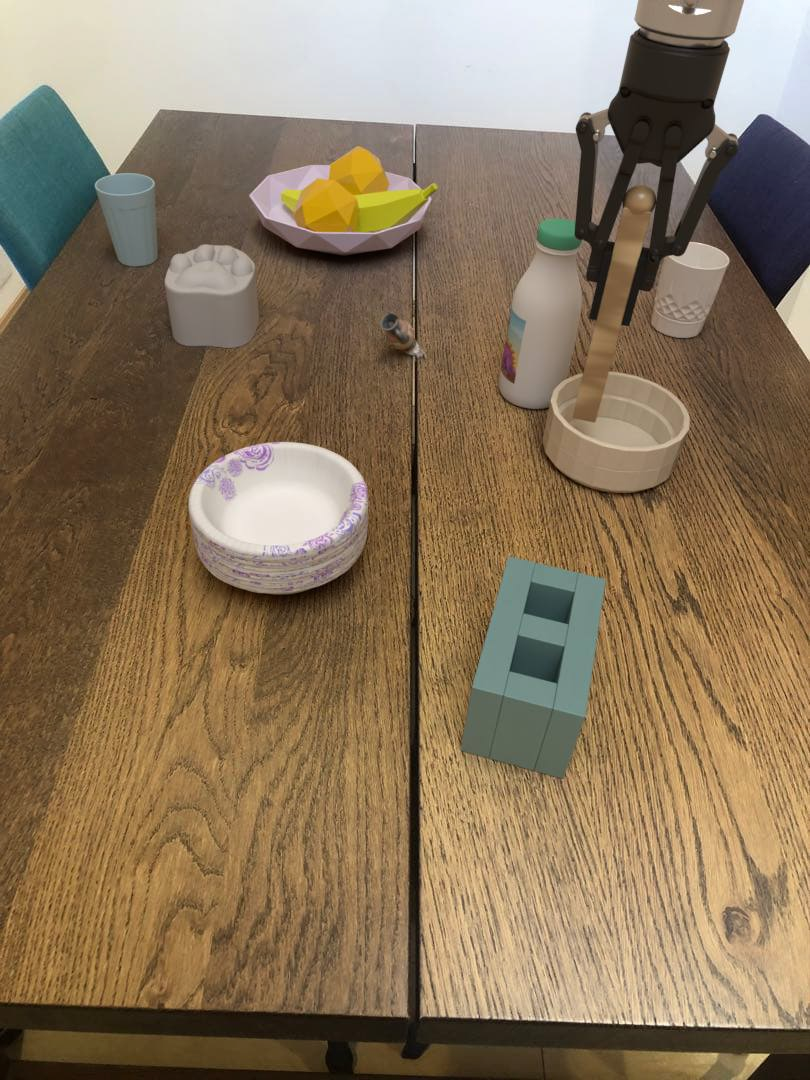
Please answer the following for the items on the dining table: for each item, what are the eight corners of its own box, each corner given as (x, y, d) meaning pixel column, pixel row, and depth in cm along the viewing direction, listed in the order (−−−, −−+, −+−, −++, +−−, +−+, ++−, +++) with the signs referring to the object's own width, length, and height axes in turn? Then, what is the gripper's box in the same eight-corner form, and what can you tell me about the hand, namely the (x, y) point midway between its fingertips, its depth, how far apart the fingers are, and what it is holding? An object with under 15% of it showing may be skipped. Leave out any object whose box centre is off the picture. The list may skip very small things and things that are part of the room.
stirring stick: (599, 410, 87) (660, 182, 70) (596, 424, 85) (659, 193, 68) (573, 404, 87) (628, 177, 71) (570, 419, 85) (625, 188, 69)
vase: (390, 372, 98) (392, 328, 94) (367, 351, 101) (368, 307, 97) (427, 361, 100) (431, 317, 96) (403, 341, 104) (406, 297, 99)
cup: (147, 274, 113) (134, 198, 105) (99, 264, 114) (82, 188, 107) (175, 252, 118) (165, 178, 111) (129, 243, 119) (115, 169, 112)
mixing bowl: (676, 431, 92) (691, 386, 88) (670, 510, 82) (687, 463, 78) (552, 406, 95) (561, 361, 91) (531, 479, 85) (541, 432, 81)
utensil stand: (585, 643, 69) (606, 578, 64) (563, 779, 60) (585, 717, 54) (495, 621, 71) (508, 555, 65) (460, 750, 61) (471, 687, 56)
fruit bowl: (219, 227, 125) (211, 149, 117) (357, 189, 139) (357, 117, 131) (332, 298, 111) (331, 215, 103) (473, 248, 124) (482, 171, 117)
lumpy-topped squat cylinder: (166, 344, 100) (154, 278, 94) (187, 294, 109) (178, 230, 103) (251, 349, 100) (245, 283, 94) (265, 298, 110) (261, 235, 104)
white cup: (634, 322, 110) (653, 250, 103) (669, 306, 114) (690, 236, 107) (681, 347, 106) (705, 274, 99) (716, 329, 110) (742, 258, 103)
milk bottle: (570, 385, 98) (608, 220, 84) (551, 418, 93) (588, 248, 79) (510, 368, 100) (537, 204, 86) (488, 399, 95) (513, 230, 81)
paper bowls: (250, 485, 82) (244, 420, 76) (391, 529, 78) (395, 464, 73) (164, 587, 71) (150, 520, 66) (322, 643, 68) (321, 577, 62)
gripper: (574, 31, 61) (524, 319, 77) (790, 59, 58) (691, 350, 74) (586, 11, 66) (537, 284, 82) (784, 36, 63) (693, 313, 80)
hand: (610, 315), depth 78 cm, fingers closed on stirring stick, 2 cm apart
